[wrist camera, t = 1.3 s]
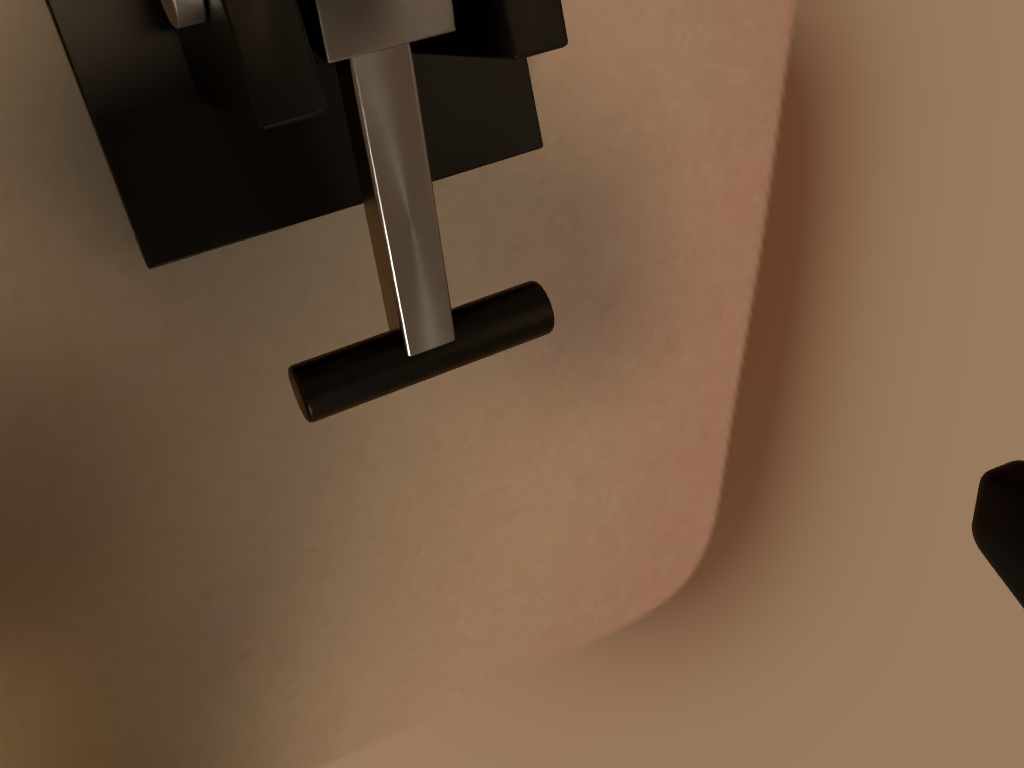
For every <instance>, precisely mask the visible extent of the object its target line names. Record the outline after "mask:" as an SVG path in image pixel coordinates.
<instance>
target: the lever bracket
mask: <svg viewBox="0 0 1024 768" xmlns="http://www.w3.org/2000/svg"><path fill="white" fill-rule="evenodd" d="M453 1H454V9H455V18H456V26H457V29H456V30H455V31H453V32H449V33H445V34H441V35H437V36H434V37H430V38H426V39H422V40H418V41H414V42H411V49H412V56H413V62H414V69H415V75H416V82H417V88H418V95H419V101H420V108H421V114H422V121H423V127H424V134H425V140H426V147H427V153H428V160H429V167H430V173H431V180H432V182H433V181H436V180H440V179H443V178H446V177H449V176H453V175H456V174H459V173H462V172H465V171H469V170H472V169H475V168H478V167H482V166H485V165H488V164H491V163H495V162H498V161H501V160H504V159H507V158H511V157H514V156H517V155H520V154H524V153H527V152H530V151H533V150H537V149H540V148H542V147H543V143H542V138H541V132H540V127H539V122H538V117H537V111H536V106H535V101H534V96H533V90H532V85H531V80H530V75H529V69H528V64H527V59H526V57H530V56H534V55H537V54H541V53H544V52H548V51H552V50H555V49H559V48H563V47H564V46H566V45H567V43H568V39H567V33H566V28H565V22H564V16H563V10H562V4H561V0H453ZM45 2H46V5H47V7H48V10H49V12H50V15H51V18H52V20H53V23H54V26H55V28H56V31H57V33H58V36H59V39H60V41H61V44H62V47H63V49H64V52H65V54H66V57H67V60H68V62H69V65H70V67H71V70H72V73H73V75H74V78H75V81H76V83H77V86H78V88H79V91H80V94H81V96H82V99H83V102H84V104H85V107H86V109H87V112H88V115H89V117H90V120H91V123H92V125H93V128H94V130H95V133H96V136H97V138H98V141H99V144H100V146H101V149H102V151H103V154H104V157H105V159H106V162H107V164H108V167H109V170H110V172H111V175H112V178H113V180H114V183H115V185H116V188H117V191H118V193H119V196H120V199H121V201H122V204H123V206H124V209H125V212H126V214H127V217H128V220H129V222H130V225H131V227H132V230H133V233H134V235H135V238H136V241H137V243H138V246H139V248H140V251H141V254H142V256H143V258H144V261H145V263H146V265H147V267H148V268H149V269H152V268H155V267H159V266H162V265H165V264H168V263H172V262H175V261H178V260H181V259H184V258H188V257H191V256H194V255H197V254H201V253H204V252H207V251H210V250H214V249H217V248H220V247H223V246H226V245H230V244H233V243H236V242H239V241H243V240H246V239H249V238H252V237H256V236H259V235H262V234H265V233H268V232H272V231H275V230H278V229H281V228H285V227H288V226H291V225H294V224H298V223H301V222H304V221H307V220H310V219H314V218H317V217H320V216H323V215H327V214H330V213H333V212H336V211H340V210H343V209H346V208H349V207H352V206H356V205H359V204H362V203H363V198H362V193H361V189H360V184H359V179H358V174H357V169H356V164H355V159H354V154H353V149H352V145H351V140H350V135H349V130H348V125H347V120H346V115H345V110H344V105H343V100H342V96H341V91H340V86H339V81H338V76H337V71H336V66H335V62H334V63H330V64H329V63H326V62H325V61H324V60H323V59H322V58H321V57H320V56H319V55H318V54H316V53H315V52H314V51H313V50H312V49H311V48H310V47H309V43H308V40H307V36H306V33H305V29H304V26H303V22H302V18H301V15H300V11H299V8H298V4H297V0H45Z"/></svg>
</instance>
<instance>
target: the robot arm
mask: <svg viewBox="0 0 1024 768" xmlns="http://www.w3.org/2000/svg"><path fill="white" fill-rule="evenodd" d="M972 532H973V536H974V540H975V542H976V544H977V546H978V548H979V549H980V551H981V552H982V554H983V555H984V556H985V558H986V559H987V560H988V561H989V563H990V564H991V566H992V567H993V568H994V569H995V571H996V572H997V573H998V575H999V576H1000V577H1001V579H1002V580H1003V582H1004V583H1005V584H1006V586H1007V587H1008V588H1009V589H1010V591H1011V592H1012V593H1013V595H1014V596H1015V597H1016V598H1017V600H1018V601H1019V603H1020V604H1021V605H1022V607H1023V608H1024V461H1021V460H1017V461H1012V462H1009V463H1006V464H1004V465H1001V466H999V467H996V468H994V469H991V470H989V471H987V472H986V473H985V474H984V475H983V476H982V478H981V480H980V484H979V488H978V494H977V499H976V505H975V511H974V516H973V522H972Z"/></svg>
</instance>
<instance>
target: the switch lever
mask: <svg viewBox="0 0 1024 768" xmlns="http://www.w3.org/2000/svg"><path fill="white" fill-rule="evenodd" d="M297 4H298V8H299V11H300V15H301V18H302V22H303V26H304V29H305V33H306V36H307V40H308V43H309V47H310V48H311V49H312V50H313V51H314V52H315V53H316V54H318V55H319V56H320V57H321V58H322V59H323V60H324V61H325V62H326V63H329V64H330V63H334V62H335V66H336V71H337V76H338V81H339V86H340V91H341V96H342V100H343V105H344V110H345V115H346V120H347V125H348V130H349V135H350V140H351V145H352V149H353V154H354V159H355V164H356V169H357V174H358V179H359V184H360V189H361V193H362V198H363V203H364V208H365V213H366V218H367V223H368V228H369V233H370V237H371V242H372V247H373V252H374V257H375V262H376V267H377V272H378V277H379V281H380V286H381V291H382V296H383V301H384V306H385V311H386V316H387V321H388V326H389V330H390V331H387V332H384V333H382V334H379V335H376V336H373V337H370V338H367V339H365V340H362V341H359V342H356V343H353V344H351V345H348V346H345V347H342V348H339V349H336V350H334V351H331V352H328V353H325V354H322V355H320V356H317V357H314V358H311V359H308V360H305V361H303V362H300V363H297V364H294V365H291V366H290V367H289V368H288V375H289V380H290V383H291V386H292V389H293V392H294V395H295V397H296V400H297V402H298V405H299V407H300V409H301V411H302V414H303V415H304V417H305V419H306V420H307V421H308V422H315V421H318V420H321V419H323V418H326V417H329V416H331V415H334V414H337V413H339V412H342V411H345V410H347V409H350V408H353V407H355V406H358V405H361V404H363V403H366V402H369V401H371V400H374V399H377V398H379V397H382V396H384V395H387V394H390V393H392V392H395V391H398V390H400V389H403V388H406V387H408V386H411V385H414V384H416V383H419V382H422V381H424V380H427V379H430V378H432V377H435V376H438V375H440V374H443V373H446V372H448V371H451V370H454V369H456V368H459V367H462V366H464V365H467V364H470V363H472V362H475V361H478V360H480V359H483V358H486V357H488V356H491V355H494V354H496V353H499V352H502V351H504V350H507V349H509V348H512V347H515V346H517V345H520V344H523V343H525V342H528V341H531V340H533V339H536V338H539V337H541V336H544V335H547V334H549V333H550V332H551V331H552V330H553V328H554V314H553V310H552V306H551V303H550V300H549V298H548V296H547V294H546V292H545V291H544V289H543V288H542V286H541V285H540V284H539V283H537V282H535V281H528V282H525V283H522V284H520V285H517V286H514V287H511V288H508V289H505V290H503V291H500V292H497V293H494V294H491V295H489V296H486V297H483V298H480V299H477V300H474V301H472V302H469V303H466V304H463V305H460V306H458V307H455V308H452V309H451V304H450V297H449V291H448V284H447V278H446V271H445V264H444V258H443V251H442V245H441V238H440V232H439V225H438V219H437V212H436V206H435V199H434V193H433V186H432V180H431V173H430V167H429V160H428V153H427V147H426V140H425V134H424V127H423V121H422V114H421V108H420V101H419V95H418V88H417V82H416V75H415V69H414V62H413V56H412V49H411V42H414V41H418V40H422V39H426V38H430V37H434V36H437V35H441V34H445V33H449V32H453V31H455V30H456V29H457V26H456V18H455V9H454V1H453V0H297Z"/></svg>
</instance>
